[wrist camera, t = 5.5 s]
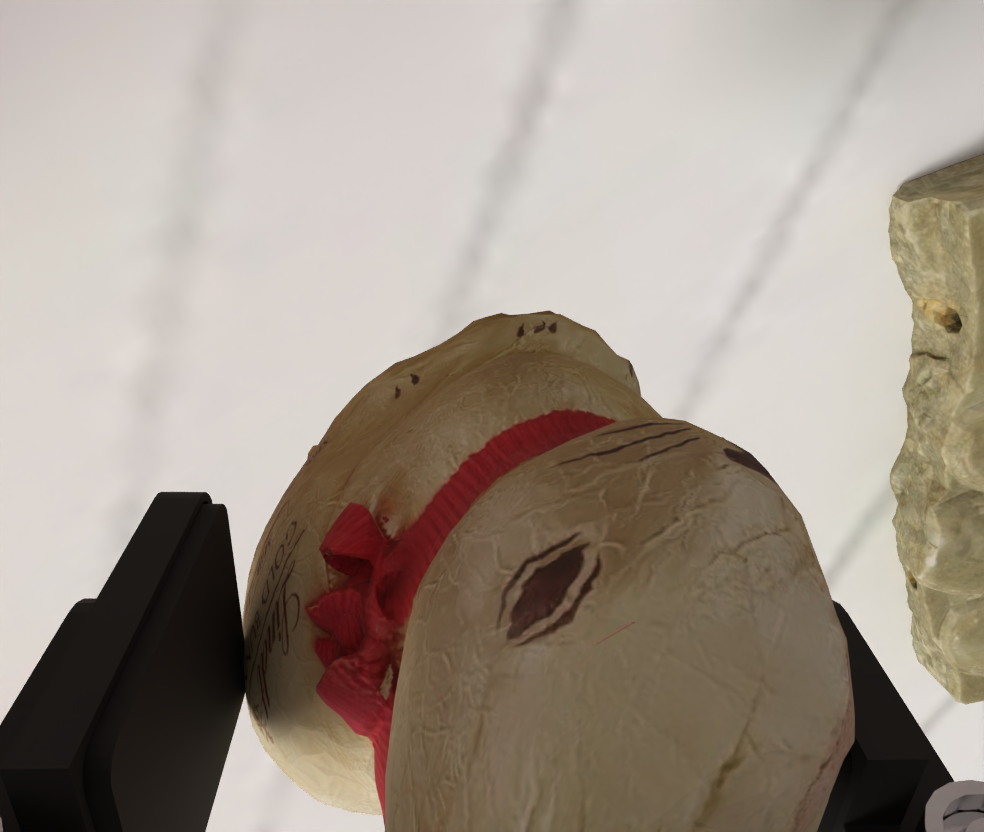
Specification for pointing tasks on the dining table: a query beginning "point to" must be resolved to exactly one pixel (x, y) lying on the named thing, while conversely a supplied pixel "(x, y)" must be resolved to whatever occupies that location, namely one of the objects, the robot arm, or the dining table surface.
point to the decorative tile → (943, 422)
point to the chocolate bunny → (543, 607)
